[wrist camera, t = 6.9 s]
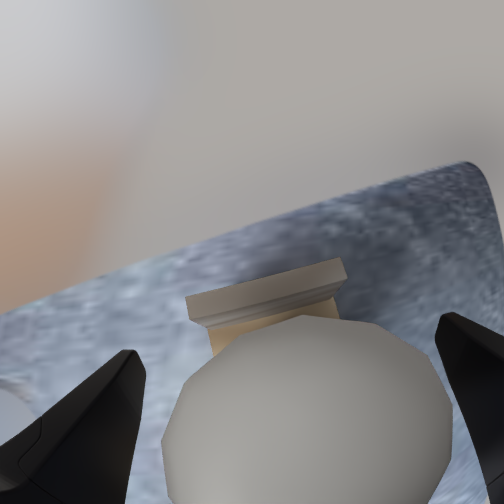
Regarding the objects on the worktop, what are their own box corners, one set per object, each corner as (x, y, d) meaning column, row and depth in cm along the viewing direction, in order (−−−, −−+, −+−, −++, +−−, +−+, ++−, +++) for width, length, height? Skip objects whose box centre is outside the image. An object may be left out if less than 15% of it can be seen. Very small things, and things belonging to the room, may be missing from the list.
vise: (385, 546, 10) (409, 583, 5) (283, 574, 10) (283, 618, 5) (325, 285, 17) (344, 255, 12) (208, 316, 17) (180, 297, 12)
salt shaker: (360, 367, 14) (556, 365, 2) (300, 452, 13) (347, 632, 1) (271, 312, 16) (255, 162, 4) (211, 396, 15) (37, 474, 2)
